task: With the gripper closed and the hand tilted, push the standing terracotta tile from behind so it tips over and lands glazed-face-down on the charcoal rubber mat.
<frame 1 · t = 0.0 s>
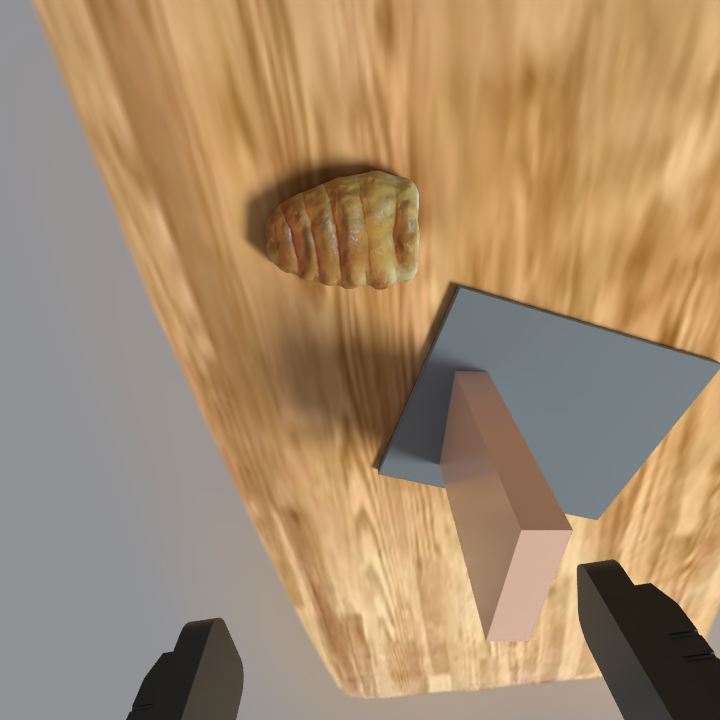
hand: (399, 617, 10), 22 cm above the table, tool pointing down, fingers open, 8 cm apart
tile: (462, 420, 35), point 1 cm above the table, touching mat
pastry: (354, 231, 28), on the table
mat: (537, 418, 36), on the table
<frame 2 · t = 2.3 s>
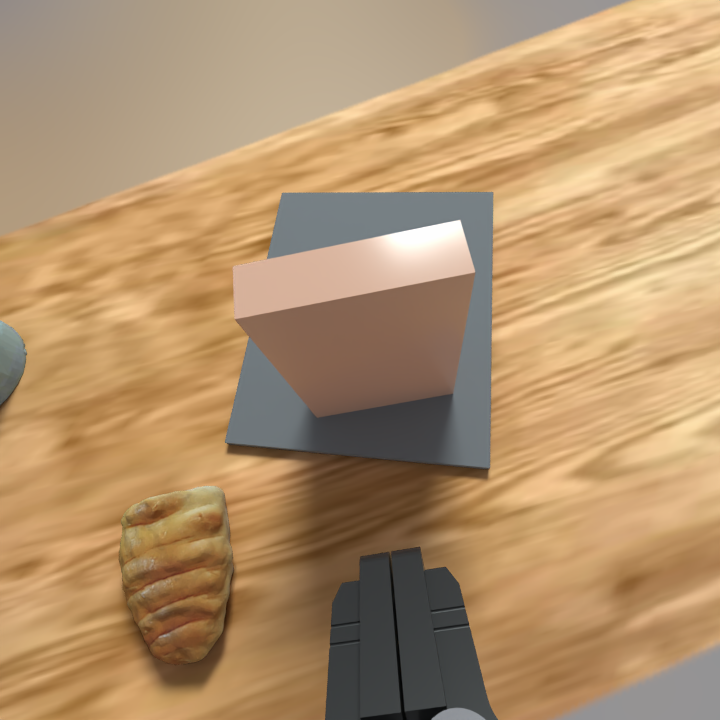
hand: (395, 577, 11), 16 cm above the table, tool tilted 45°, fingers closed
tile: (381, 388, 30), point 1 cm above the table, touching mat
pastry: (193, 558, 28), on the table
mat: (370, 311, 33), on the table
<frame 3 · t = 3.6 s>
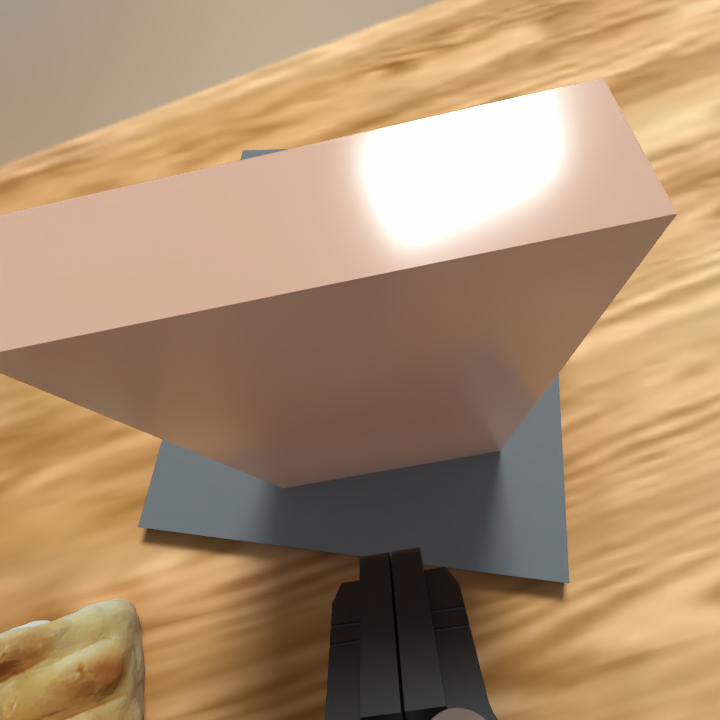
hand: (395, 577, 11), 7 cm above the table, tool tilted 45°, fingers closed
tile: (384, 441, 19), point 1 cm above the table, touching mat
pastry: (86, 719, 17), on the table
mat: (366, 318, 22), on the table
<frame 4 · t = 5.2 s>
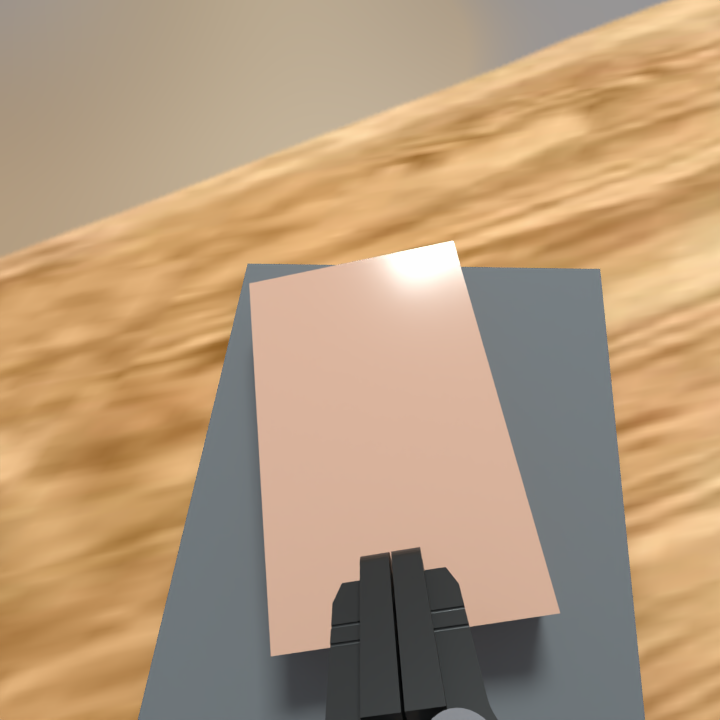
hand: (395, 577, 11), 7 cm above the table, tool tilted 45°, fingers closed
tile: (413, 628, 15), point 2 cm above the table, tilted 90°, touching mat
mat: (395, 489, 19), on the table
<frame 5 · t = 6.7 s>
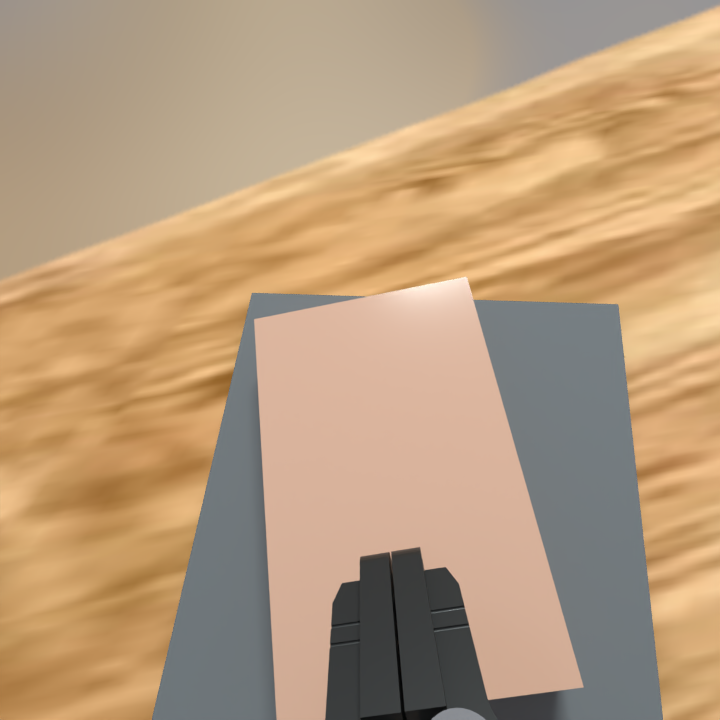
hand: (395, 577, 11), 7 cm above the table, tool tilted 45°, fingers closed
tile: (426, 695, 14), point 2 cm above the table, tilted 90°, touching mat
mat: (405, 537, 18), on the table
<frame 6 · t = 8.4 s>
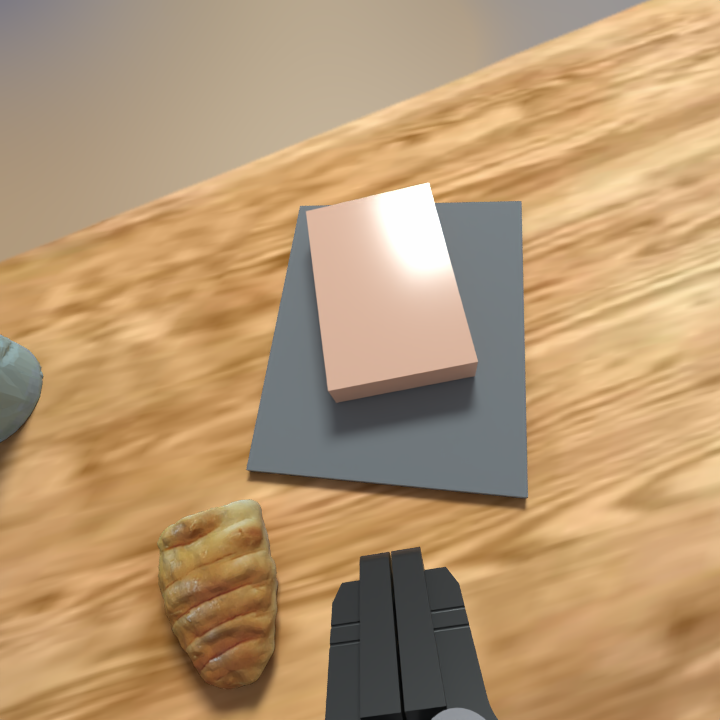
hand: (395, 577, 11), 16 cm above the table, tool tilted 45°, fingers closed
tile: (403, 383, 28), point 2 cm above the table, tilted 90°, touching mat
pastry: (234, 576, 27), on the table
mat: (394, 329, 31), on the table
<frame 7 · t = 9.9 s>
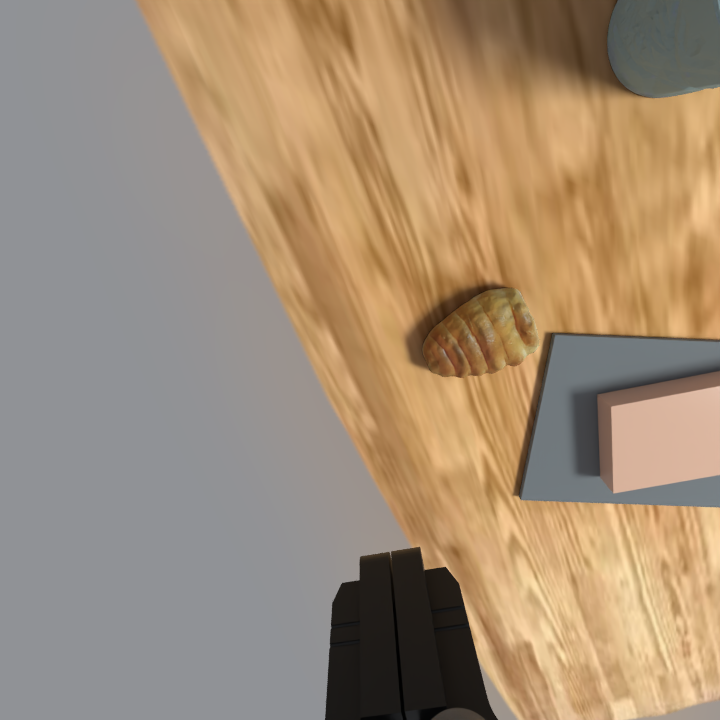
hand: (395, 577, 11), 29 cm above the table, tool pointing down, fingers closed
drinking glass: (663, 31, 31), on the table
tile: (605, 444, 40), point 2 cm above the table, tilted 90°, touching mat
pastry: (481, 331, 39), on the table
mat: (646, 424, 42), on the table
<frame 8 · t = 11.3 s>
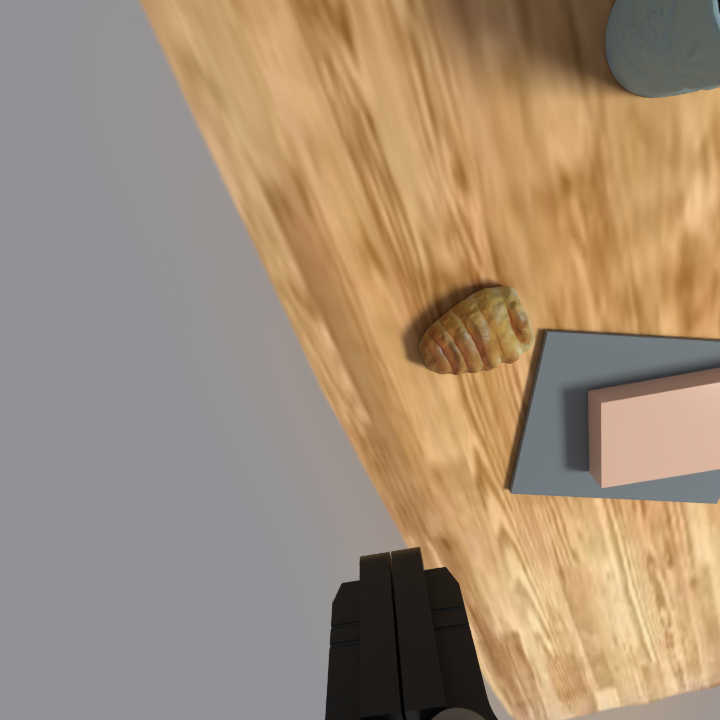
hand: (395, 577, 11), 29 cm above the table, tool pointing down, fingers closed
drinking glass: (661, 30, 31), on the table
tile: (594, 440, 41), point 2 cm above the table, tilted 90°, touching mat
pastry: (477, 329, 40), on the table
mat: (635, 421, 43), on the table
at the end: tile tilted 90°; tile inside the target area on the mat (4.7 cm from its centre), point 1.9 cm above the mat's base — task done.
